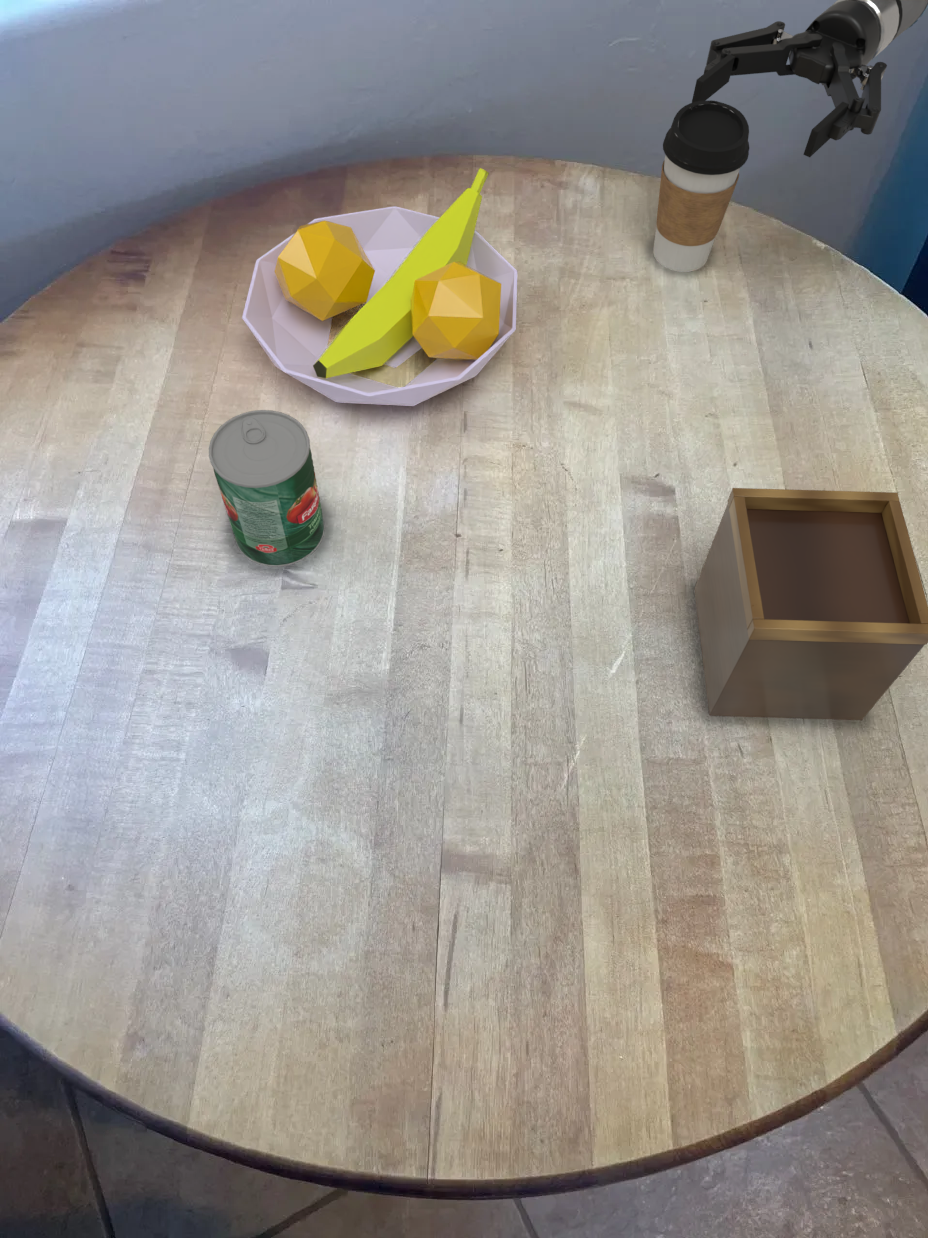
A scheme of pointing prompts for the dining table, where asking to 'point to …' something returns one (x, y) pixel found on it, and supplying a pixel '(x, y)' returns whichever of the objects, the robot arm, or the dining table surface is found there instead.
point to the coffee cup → (697, 181)
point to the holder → (808, 604)
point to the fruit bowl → (384, 300)
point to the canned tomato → (268, 486)
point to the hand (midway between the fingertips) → (752, 118)
